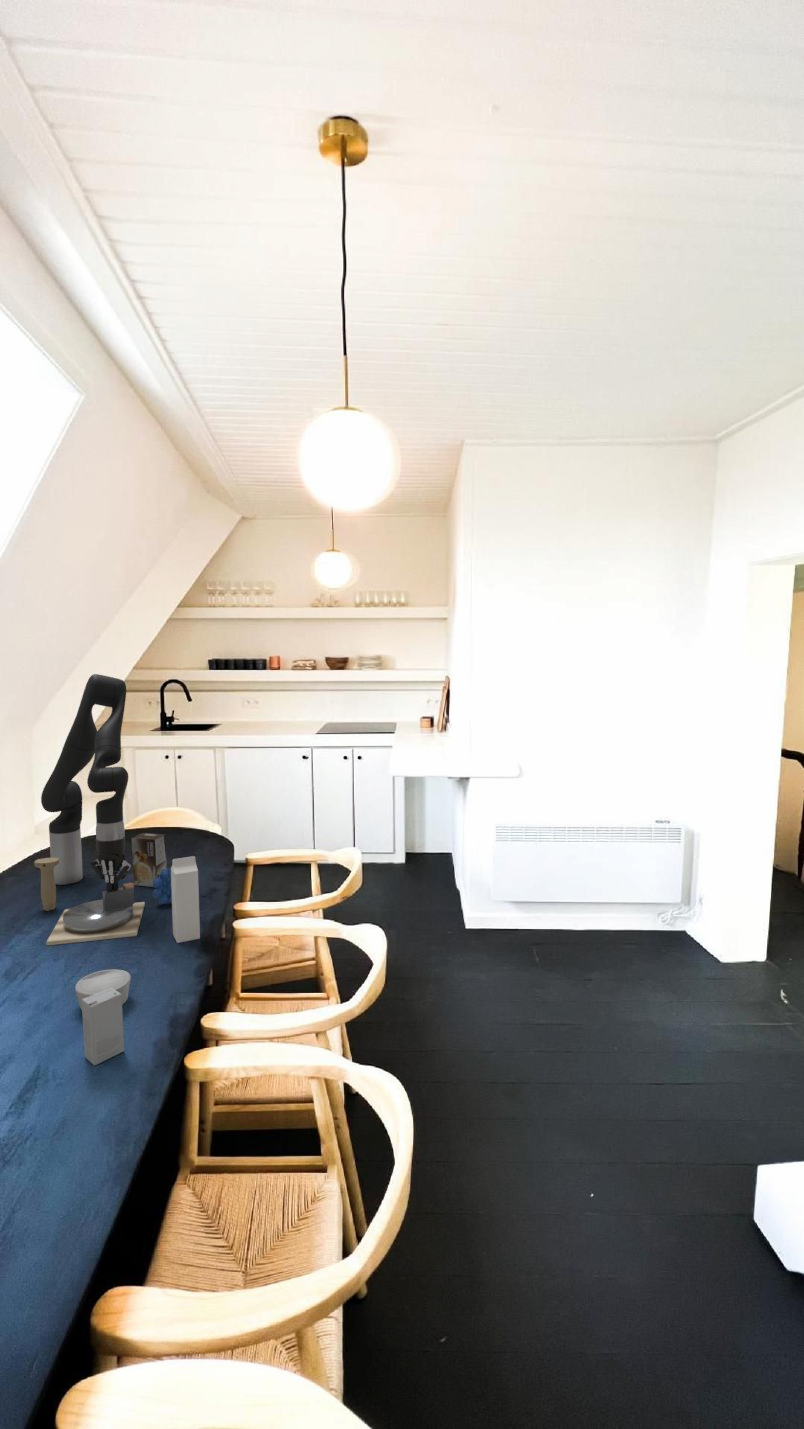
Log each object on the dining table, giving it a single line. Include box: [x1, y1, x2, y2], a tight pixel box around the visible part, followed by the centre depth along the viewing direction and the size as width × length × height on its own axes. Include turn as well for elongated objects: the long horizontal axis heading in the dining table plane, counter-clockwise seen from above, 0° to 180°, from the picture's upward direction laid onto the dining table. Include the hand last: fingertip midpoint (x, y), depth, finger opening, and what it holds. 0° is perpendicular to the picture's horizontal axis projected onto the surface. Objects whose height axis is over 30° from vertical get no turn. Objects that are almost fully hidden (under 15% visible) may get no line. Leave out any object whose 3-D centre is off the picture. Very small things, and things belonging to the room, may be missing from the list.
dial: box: [63, 882, 135, 933], centre depth 185 cm, size 19×18×8 cm
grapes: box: [151, 867, 172, 905], centre depth 200 cm, size 12×7×12 cm, turn 112°
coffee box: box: [131, 832, 168, 888], centre depth 216 cm, size 9×6×16 cm
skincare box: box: [81, 988, 125, 1066], centre depth 126 cm, size 6×4×12 cm
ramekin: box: [74, 968, 132, 1010], centre depth 144 cm, size 11×11×5 cm
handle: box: [34, 857, 59, 912], centre depth 195 cm, size 5×6×15 cm
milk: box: [170, 855, 201, 944], centre depth 176 cm, size 6×6×22 cm
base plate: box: [46, 901, 146, 947], centre depth 185 cm, size 22×22×1 cm
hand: (112, 893), depth 190 cm, fingers closed
